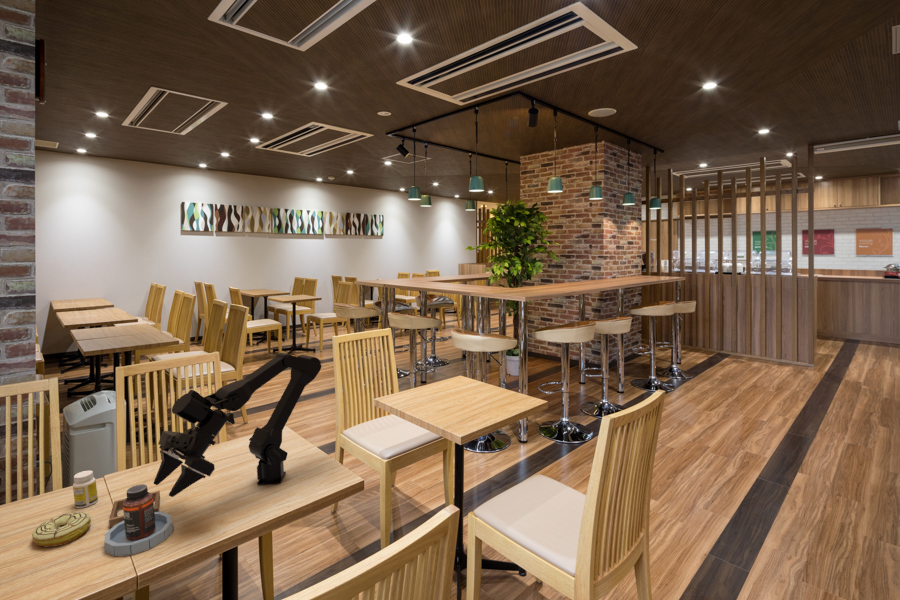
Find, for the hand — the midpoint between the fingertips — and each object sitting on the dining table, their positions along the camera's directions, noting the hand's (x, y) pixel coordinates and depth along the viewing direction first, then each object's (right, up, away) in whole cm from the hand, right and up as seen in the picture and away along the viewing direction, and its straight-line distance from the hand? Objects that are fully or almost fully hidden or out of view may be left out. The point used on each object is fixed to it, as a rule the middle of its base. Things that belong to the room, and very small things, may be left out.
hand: (162, 490), depth 110 cm
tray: (-11, -9, +7) cm, 16 cm away
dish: (-3, -10, -3) cm, 11 cm away
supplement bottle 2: (-3, -9, -3) cm, 10 cm away
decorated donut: (-22, -10, -2) cm, 25 cm away
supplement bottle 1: (-28, -9, +11) cm, 31 cm away
